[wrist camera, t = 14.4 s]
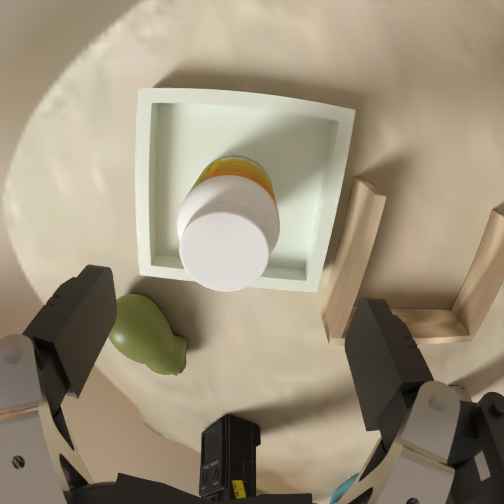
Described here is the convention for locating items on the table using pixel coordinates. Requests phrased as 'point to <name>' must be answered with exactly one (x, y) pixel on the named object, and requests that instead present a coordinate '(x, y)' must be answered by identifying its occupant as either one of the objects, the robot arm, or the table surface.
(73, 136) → the table surface
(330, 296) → the frame
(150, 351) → the pear
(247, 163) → the supplement bottle
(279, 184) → the plastic tray
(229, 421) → the portable radio
